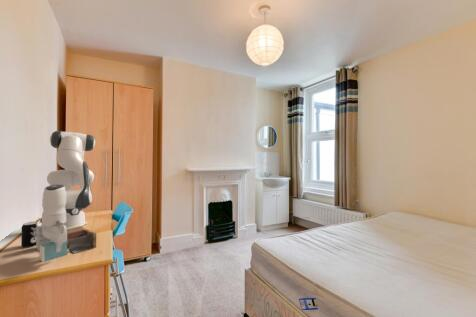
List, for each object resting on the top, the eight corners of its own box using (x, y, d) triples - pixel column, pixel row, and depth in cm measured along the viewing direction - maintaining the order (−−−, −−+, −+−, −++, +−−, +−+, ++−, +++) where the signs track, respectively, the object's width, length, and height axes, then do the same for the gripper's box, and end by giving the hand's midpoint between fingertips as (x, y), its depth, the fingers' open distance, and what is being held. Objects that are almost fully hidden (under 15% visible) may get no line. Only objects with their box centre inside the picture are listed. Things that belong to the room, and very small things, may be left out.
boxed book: (39, 259, 101) (39, 244, 101) (63, 253, 109) (63, 238, 109) (42, 262, 99) (42, 246, 99) (67, 255, 106) (67, 240, 106)
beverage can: (26, 248, 114) (26, 225, 114) (18, 246, 116) (18, 224, 116) (41, 244, 120) (41, 222, 120) (33, 242, 122) (33, 220, 122)
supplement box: (35, 247, 115) (36, 223, 116) (54, 243, 121) (54, 220, 121) (37, 251, 110) (37, 226, 110) (56, 247, 116) (56, 223, 116)
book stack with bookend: (59, 246, 117) (59, 229, 117) (81, 240, 125) (81, 224, 125) (73, 254, 107) (73, 235, 107) (96, 247, 115) (96, 230, 115)
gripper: (71, 221, 101) (71, 251, 101) (54, 215, 112) (54, 242, 112) (54, 224, 96) (54, 256, 95) (38, 218, 107) (38, 246, 107)
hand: (54, 249), depth 104 cm, fingers open, 8 cm apart
